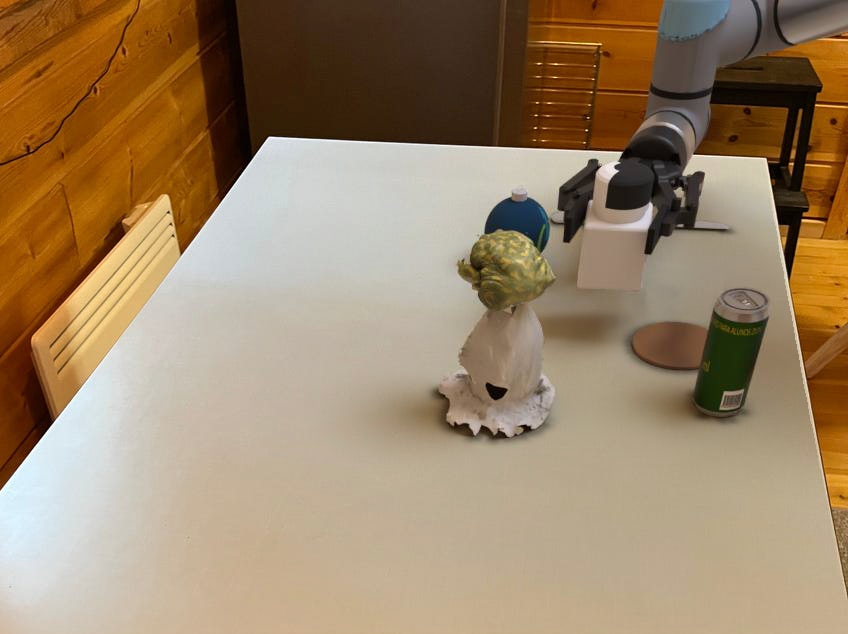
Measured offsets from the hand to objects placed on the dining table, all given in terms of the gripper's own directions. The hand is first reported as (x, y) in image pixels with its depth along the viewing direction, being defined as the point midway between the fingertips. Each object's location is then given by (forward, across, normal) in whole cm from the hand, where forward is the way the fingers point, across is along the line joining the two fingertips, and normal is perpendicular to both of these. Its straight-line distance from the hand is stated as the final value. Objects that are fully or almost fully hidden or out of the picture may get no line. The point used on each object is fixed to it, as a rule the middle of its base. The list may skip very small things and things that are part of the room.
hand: (608, 236), depth 103 cm
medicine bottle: (-5, 0, -7) cm, 8 cm away
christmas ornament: (-17, +15, -13) cm, 26 cm away
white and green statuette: (+15, +7, -13) cm, 21 cm away
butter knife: (-33, +3, -13) cm, 36 cm away
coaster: (-3, -9, -13) cm, 16 cm away
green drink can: (+7, -16, -13) cm, 22 cm away
